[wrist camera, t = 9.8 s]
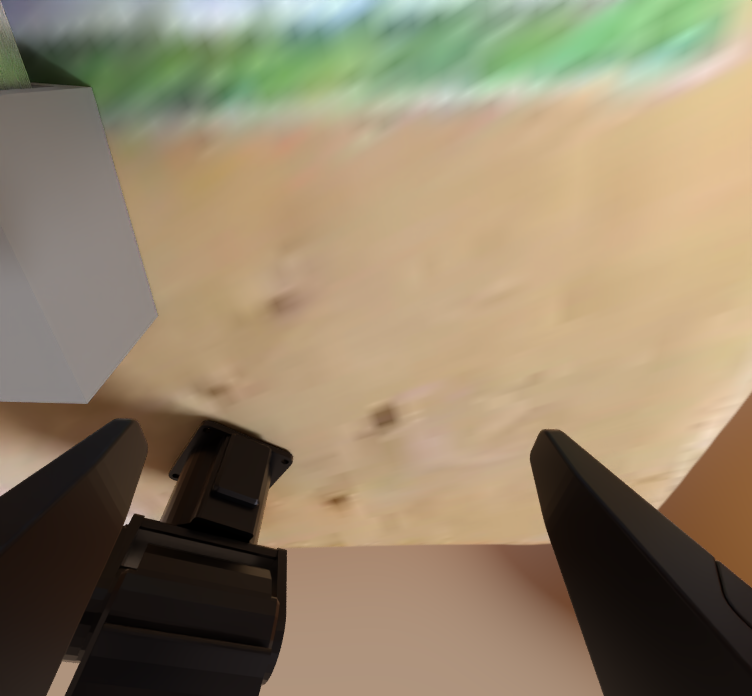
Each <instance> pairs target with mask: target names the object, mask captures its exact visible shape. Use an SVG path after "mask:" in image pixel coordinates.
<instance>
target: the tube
mask: <svg viewBox="0 0 752 696" xmlns="http://www.w3.org/2000/svg"><path fill="white" fill-rule="evenodd" d="M26 88H32V85H31V83H30V80H29V77H28V74H27V72H26V69H25V66H24V63H23V61H22V58H21V55H20V52H19V50H18V47H17V44H16V41H15V39H14V36H13V33H12V30H11V28H10V25H9V22H8V19H7V17H6V14H5V11H4V8H3V6H2V3H1V0H0V90H12V89H26Z"/></svg>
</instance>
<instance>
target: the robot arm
mask: <svg viewBox="0 0 752 696" xmlns="http://www.w3.org/2000/svg"><path fill="white" fill-rule="evenodd" d="M208 428H209V429H208ZM147 452H148V444H147V441H146V439H145V436H144V434H143V431H142V428H141V426H140V423H139V422H138V421H137V420H136V419H124V418H118V419H114V420H112V421H111V422H109V423H108V424H106V425H105V426H103V427H102V428H100V429H99V430H97V431H96V432H95V433H93V434H92V435H90V436H89V437H87V438H86V439H84V440H83V441H81V442H80V443H78V444H77V445H75V446H74V447H72V448H71V449H69V450H68V451H67V452H65V453H64V454H62V455H61V456H59V457H58V458H56V459H55V460H53V461H52V462H50V463H49V464H47V465H46V466H44V467H43V468H41V469H40V470H39V471H37V472H36V473H34V474H33V475H31V476H30V477H28V478H27V479H25V480H24V481H22V482H21V483H19V484H18V485H16V486H15V487H13V488H12V489H11V490H9V491H8V492H6V493H5V494H3V495H2V496H0V696H46V695H47V693H48V690H49V688H50V686H51V684H52V682H53V679H54V677H55V675H56V673H57V671H58V668H59V666H60V664H61V662H62V661H65V662H73V663H80V664H79V666H78V668H77V670H76V672H75V675H74V677H73V679H72V681H71V683H70V686H69V688H68V690H67V692H66V694H65V696H259V692H260V688H261V686H262V685H264V684H265V683H266V682H267V681H268V679H269V678H270V676H271V674H272V672H273V669H274V667H275V665H276V662H277V658H278V655H279V652H280V648H281V645H282V640H283V635H284V629H285V622H286V581H287V550H285V549H281V548H277V549H274V548H269V547H265V546H261V545H257V542H258V538H259V533H260V528H261V524H262V519H263V514H264V510H265V505H266V500H267V496H268V491H269V488H270V487H271V486H272V485H273V484H274V483H275V482H276V481H277V480H278V479H279V477H280V476H281V475H282V474H283V473H284V472H285V471H286V470H287V469H288V468H289V467H290V466H291V464H292V462H293V456H292V454H290V453H288V452H286V451H283V450H281V449H278V448H276V447H273V446H271V445H268V444H266V443H264V442H261V441H259V440H256V439H254V438H251V437H249V436H247V435H244V434H242V433H239V432H237V431H234V430H232V429H229V428H227V427H225V426H222V425H220V424H217V423H215V422H212V421H203V422H202V423H201V425H200V426H199V428H198V429H197V431H196V432H195V434H194V435H193V437H192V438H191V440H190V441H189V443H188V444H187V446H186V447H185V449H184V450H183V452H182V453H181V455H180V456H179V458H178V459H177V461H176V462H175V464H174V465H173V467H172V468H171V470H170V472H169V477H170V478H171V479H173V480H176V481H177V483H176V485H175V487H174V490H173V492H172V494H171V497H170V499H169V501H168V503H167V506H166V508H165V510H164V513H163V515H162V517H161V519H160V521H156V520H152V519H148V518H144V517H145V516H143V515H139V514H135V513H134V515H133V517H132V519H131V521H130V523H129V524H128V525H127V524H126V525H125V526H123V524H124V522H125V520H126V517H127V514H128V511H129V508H130V505H131V502H132V499H133V496H134V493H135V490H136V487H137V484H138V481H139V478H140V475H141V472H142V469H143V466H144V463H145V459H146V456H147ZM530 463H531V467H532V472H533V476H534V480H535V485H536V489H537V493H538V498H539V502H540V506H541V511H542V515H543V519H544V523H545V526H546V529H547V532H548V536H549V539H550V541H551V544H552V547H553V550H554V553H555V555H556V559H557V561H558V565H559V567H560V570H561V573H562V576H563V579H564V582H565V585H566V587H567V591H568V594H569V596H570V599H571V602H572V605H573V608H574V611H575V614H576V617H577V620H578V623H579V625H580V628H581V631H582V634H583V637H584V640H585V643H586V646H587V649H588V651H589V654H590V657H591V660H592V663H593V666H594V669H595V672H596V675H597V678H598V680H599V683H600V686H601V689H602V692H603V695H604V696H752V588H751V587H750V586H749V585H747V584H746V583H745V582H744V581H743V580H741V579H740V578H739V577H737V576H736V575H735V574H734V573H733V572H732V571H730V570H729V569H728V568H727V567H726V566H724V565H723V564H722V563H721V562H720V561H715V558H714V557H713V556H712V555H711V554H710V553H708V552H707V551H706V550H705V549H704V548H702V547H701V546H700V545H699V544H697V543H696V542H695V541H694V540H693V539H692V538H690V537H689V536H688V535H687V534H686V533H684V532H683V531H682V530H681V529H679V528H678V527H677V526H676V525H675V524H673V523H672V522H671V521H670V520H669V519H667V518H666V517H665V516H664V515H663V514H661V513H660V512H659V511H658V510H657V509H655V508H654V507H653V506H652V505H651V504H649V503H648V502H647V501H646V500H645V499H643V498H642V497H641V496H640V495H639V494H637V493H636V492H635V491H634V490H633V489H631V488H630V487H629V486H628V485H626V484H625V483H624V482H623V481H622V480H620V479H619V478H618V477H617V476H616V475H614V474H613V473H612V472H611V471H610V470H608V469H607V468H606V467H605V466H604V465H602V464H601V463H600V462H599V461H598V460H596V459H595V458H594V457H593V456H591V455H590V454H589V453H588V452H587V451H585V450H584V449H583V448H582V447H581V446H579V445H578V444H577V443H576V442H575V441H573V440H572V439H571V438H570V437H569V436H567V435H566V434H565V433H564V432H562V431H561V430H557V429H543V430H542V431H540V433H539V435H538V437H537V439H536V441H535V443H534V446H533V448H532V450H531V453H530Z"/></svg>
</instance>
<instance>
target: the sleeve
mask: <svg viewBox="0 0 752 696" xmlns="http://www.w3.org/2000/svg"><path fill="white" fill-rule="evenodd" d="M30 83H31V85H32V88H26V89H12V90H0V401H2V402H39V403H76V404H88V402H89V401H90V400H91V399H92V397H93V396H94V395H95V394H96V392H97V391H98V390H99V389H100V387H101V386H102V385H103V384H104V382H105V381H106V380H107V379H108V378H109V376H110V375H111V374H112V373H113V371H114V370H115V369H116V368H117V366H118V365H119V364H120V363H121V361H122V360H123V359H124V358H125V356H126V355H127V354H128V353H129V351H130V350H131V349H132V348H133V346H134V345H135V344H136V343H137V341H138V340H139V339H140V338H141V336H142V335H143V334H144V333H145V331H146V330H147V329H148V328H149V326H150V325H151V324H152V323H153V321H154V320H155V319H156V318H157V316H158V314H157V310H156V307H155V303H154V300H153V296H152V293H151V290H150V286H149V283H148V279H147V276H146V272H145V269H144V266H143V262H142V259H141V255H140V252H139V248H138V245H137V241H136V238H135V235H134V231H133V228H132V224H131V221H130V217H129V214H128V211H127V207H126V204H125V200H124V197H123V193H122V190H121V187H120V183H119V180H118V176H117V173H116V169H115V166H114V162H113V159H112V156H111V152H110V149H109V145H108V142H107V138H106V135H105V132H104V128H103V125H102V121H101V118H100V114H99V111H98V108H97V104H96V101H95V97H94V94H93V90H92V87H84V86H71V85H58V84H46V83H33V82H30Z"/></svg>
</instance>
